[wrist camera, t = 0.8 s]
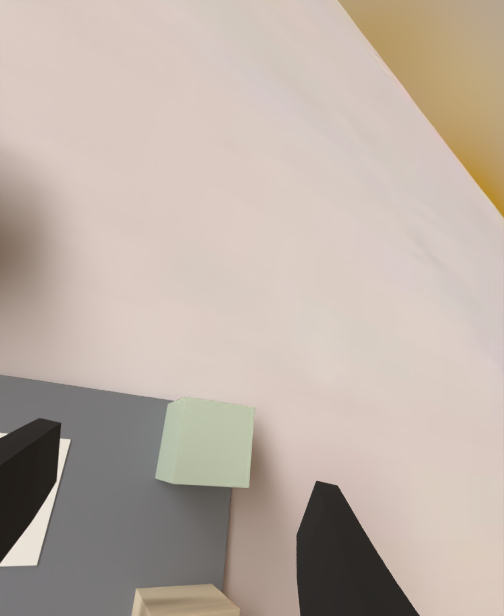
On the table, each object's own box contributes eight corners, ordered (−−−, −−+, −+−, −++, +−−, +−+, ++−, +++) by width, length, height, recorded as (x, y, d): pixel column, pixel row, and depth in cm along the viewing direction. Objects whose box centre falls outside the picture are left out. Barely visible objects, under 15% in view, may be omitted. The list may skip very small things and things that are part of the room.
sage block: (221, 482, 23) (249, 487, 20) (155, 478, 22) (172, 483, 18) (228, 412, 25) (254, 407, 22) (167, 403, 23) (185, 396, 20)
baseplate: (210, 682, 20) (214, 688, 19) (-209, 760, 13) (-220, 771, 13) (235, 411, 26) (239, 410, 25) (-42, 369, 19) (-45, 368, 19)
